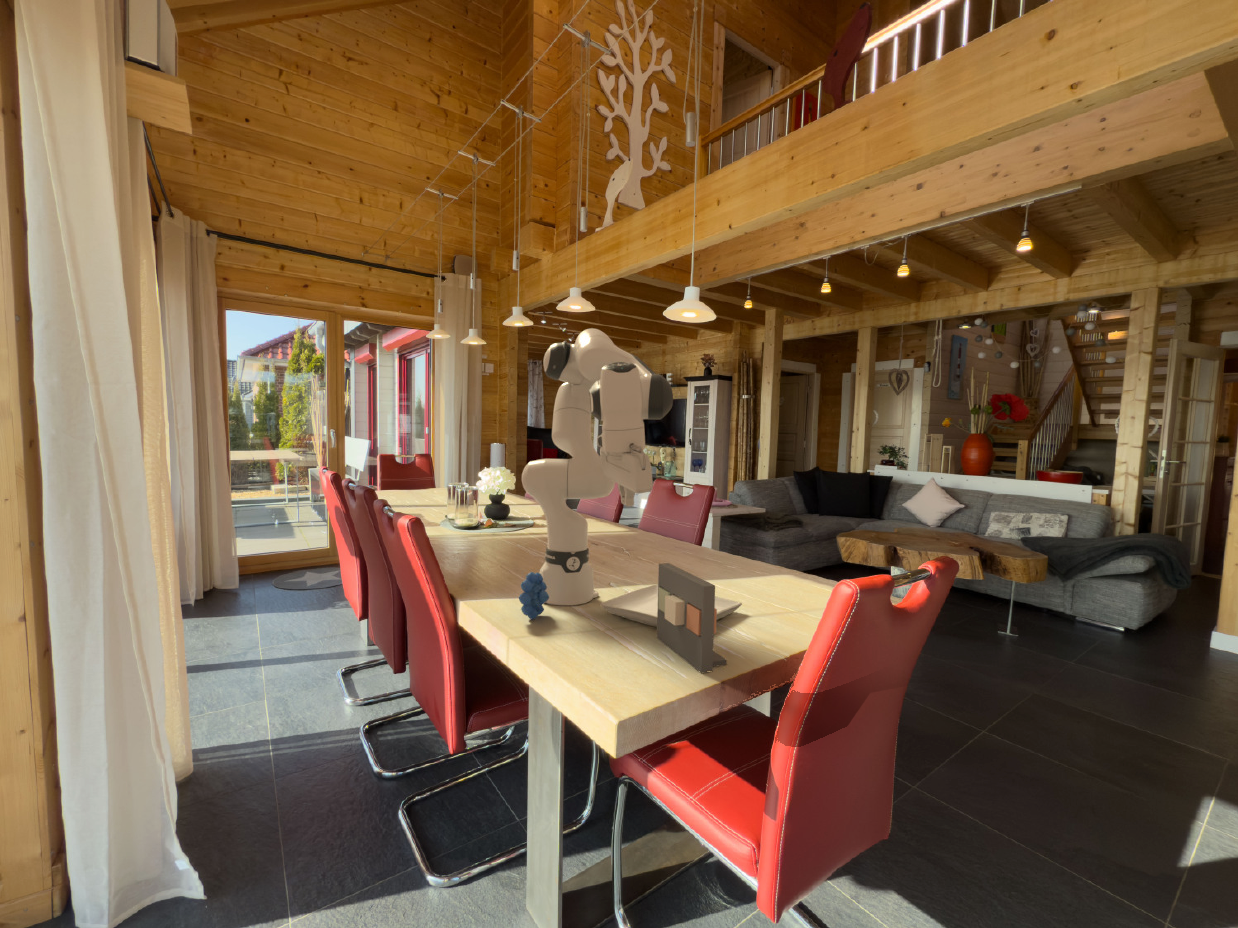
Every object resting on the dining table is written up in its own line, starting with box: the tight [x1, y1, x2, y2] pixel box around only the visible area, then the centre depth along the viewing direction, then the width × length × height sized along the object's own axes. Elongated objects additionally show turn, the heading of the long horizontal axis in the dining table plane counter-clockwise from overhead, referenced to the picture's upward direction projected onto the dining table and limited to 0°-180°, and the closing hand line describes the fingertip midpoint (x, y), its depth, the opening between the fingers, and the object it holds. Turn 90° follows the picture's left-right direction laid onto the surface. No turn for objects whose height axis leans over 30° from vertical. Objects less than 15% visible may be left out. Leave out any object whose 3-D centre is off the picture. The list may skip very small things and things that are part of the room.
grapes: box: [518, 571, 549, 620], centre depth 136 cm, size 12×7×12 cm, turn 161°
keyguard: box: [656, 562, 728, 674], centre depth 118 cm, size 20×7×17 cm, turn 22°
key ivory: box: [665, 595, 685, 626], centre depth 116 cm, size 5×4×5 cm
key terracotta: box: [686, 604, 717, 636], centre depth 111 cm, size 5×4×5 cm
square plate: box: [599, 583, 743, 628], centre depth 143 cm, size 27×27×4 cm
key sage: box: [658, 587, 670, 613], centre depth 123 cm, size 5×4×5 cm
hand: (627, 504), depth 119 cm, fingers closed
